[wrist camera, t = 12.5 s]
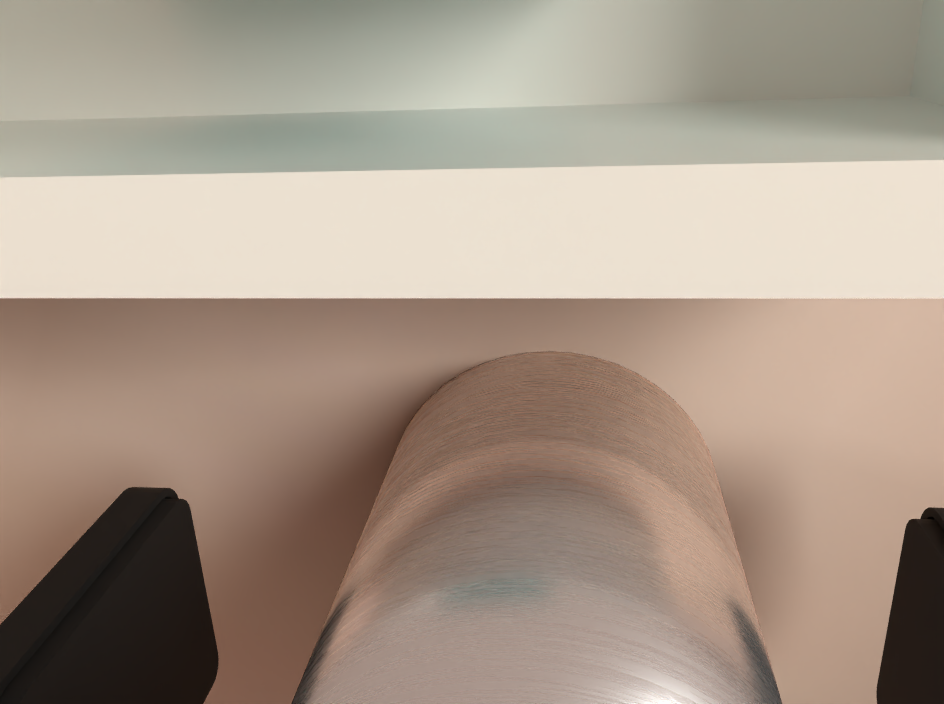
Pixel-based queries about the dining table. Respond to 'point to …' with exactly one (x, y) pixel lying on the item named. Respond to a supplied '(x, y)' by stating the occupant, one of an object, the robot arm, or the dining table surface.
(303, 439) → the dining table surface
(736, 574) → the steel cylinder
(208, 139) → the tote
